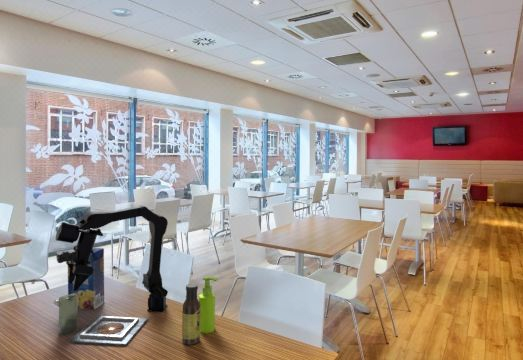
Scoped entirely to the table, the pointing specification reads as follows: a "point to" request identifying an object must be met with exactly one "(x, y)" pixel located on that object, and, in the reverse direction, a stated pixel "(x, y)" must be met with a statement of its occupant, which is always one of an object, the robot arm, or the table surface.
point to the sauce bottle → (191, 316)
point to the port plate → (109, 331)
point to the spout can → (67, 314)
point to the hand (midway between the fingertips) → (72, 286)
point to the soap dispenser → (207, 307)
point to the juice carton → (91, 283)
